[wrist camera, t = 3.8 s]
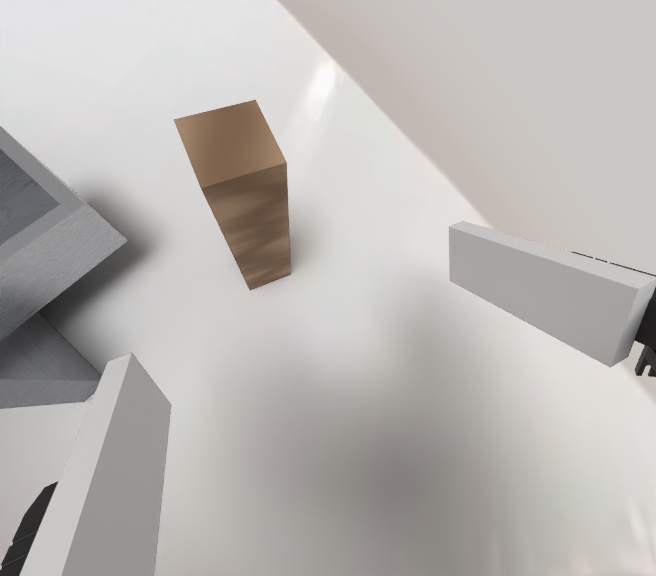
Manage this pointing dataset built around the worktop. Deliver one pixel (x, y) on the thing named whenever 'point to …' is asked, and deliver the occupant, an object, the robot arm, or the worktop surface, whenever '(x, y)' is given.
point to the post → (243, 186)
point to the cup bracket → (42, 278)
